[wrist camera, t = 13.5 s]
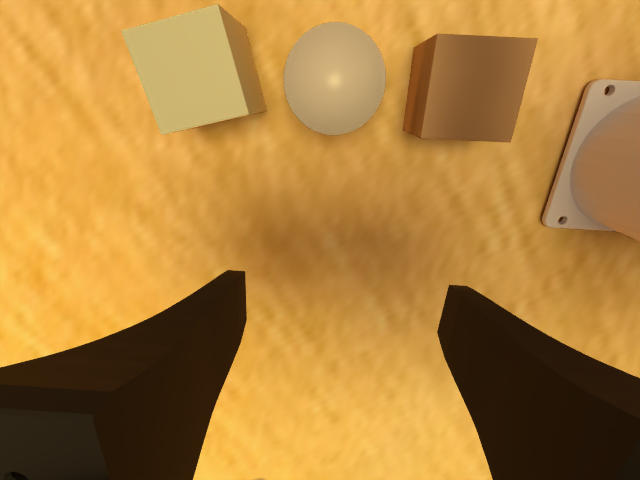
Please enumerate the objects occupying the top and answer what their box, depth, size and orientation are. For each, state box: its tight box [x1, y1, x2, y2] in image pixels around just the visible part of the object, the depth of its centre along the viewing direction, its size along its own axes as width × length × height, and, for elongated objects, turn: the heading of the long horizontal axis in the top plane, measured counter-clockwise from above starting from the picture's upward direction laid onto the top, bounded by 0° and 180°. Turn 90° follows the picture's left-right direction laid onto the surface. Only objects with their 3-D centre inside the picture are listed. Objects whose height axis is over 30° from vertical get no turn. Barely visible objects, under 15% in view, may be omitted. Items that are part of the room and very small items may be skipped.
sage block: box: [121, 4, 267, 135], centre depth 16 cm, size 4×4×4 cm
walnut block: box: [403, 34, 538, 142], centre depth 16 cm, size 4×4×4 cm
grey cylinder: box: [284, 22, 386, 135], centre depth 15 cm, size 4×4×5 cm
